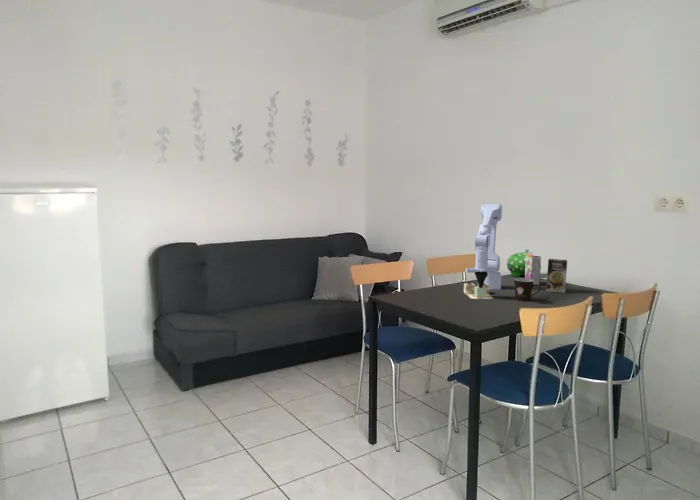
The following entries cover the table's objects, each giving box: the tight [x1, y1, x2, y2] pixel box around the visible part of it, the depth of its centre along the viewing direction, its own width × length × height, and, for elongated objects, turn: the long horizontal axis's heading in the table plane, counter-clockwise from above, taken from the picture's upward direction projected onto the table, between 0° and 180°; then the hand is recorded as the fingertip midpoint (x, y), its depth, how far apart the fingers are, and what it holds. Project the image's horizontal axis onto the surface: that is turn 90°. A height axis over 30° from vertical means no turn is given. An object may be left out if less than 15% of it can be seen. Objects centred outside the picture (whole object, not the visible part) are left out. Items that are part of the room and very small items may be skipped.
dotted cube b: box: [463, 282, 476, 295], centre depth 260 cm, size 4×4×5 cm
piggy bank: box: [506, 249, 542, 278], centre depth 307 cm, size 14×18×15 cm
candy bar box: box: [524, 252, 542, 287], centre depth 284 cm, size 11×5×16 cm, turn 179°
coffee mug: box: [513, 277, 542, 302], centre depth 246 cm, size 12×9×10 cm
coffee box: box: [545, 258, 568, 294], centre depth 268 cm, size 9×6×16 cm
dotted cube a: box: [483, 283, 490, 295], centre depth 260 cm, size 4×4×5 cm
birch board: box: [466, 293, 495, 300], centre depth 257 cm, size 11×15×1 cm
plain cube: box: [474, 285, 487, 297], centre depth 253 cm, size 4×4×4 cm
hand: (480, 287), depth 253 cm, fingers closed, pressing on plain cube
